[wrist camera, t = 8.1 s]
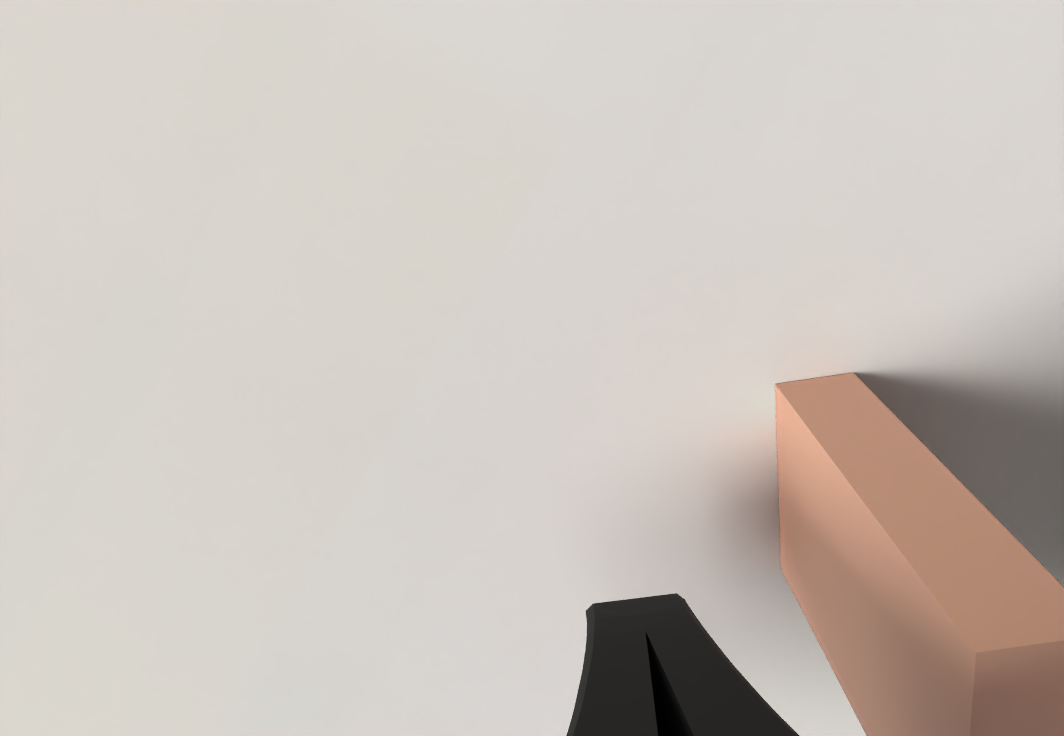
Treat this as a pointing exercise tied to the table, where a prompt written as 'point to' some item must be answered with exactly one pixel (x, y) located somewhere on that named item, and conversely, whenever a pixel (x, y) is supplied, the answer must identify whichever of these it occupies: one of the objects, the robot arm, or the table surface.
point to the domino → (911, 576)
